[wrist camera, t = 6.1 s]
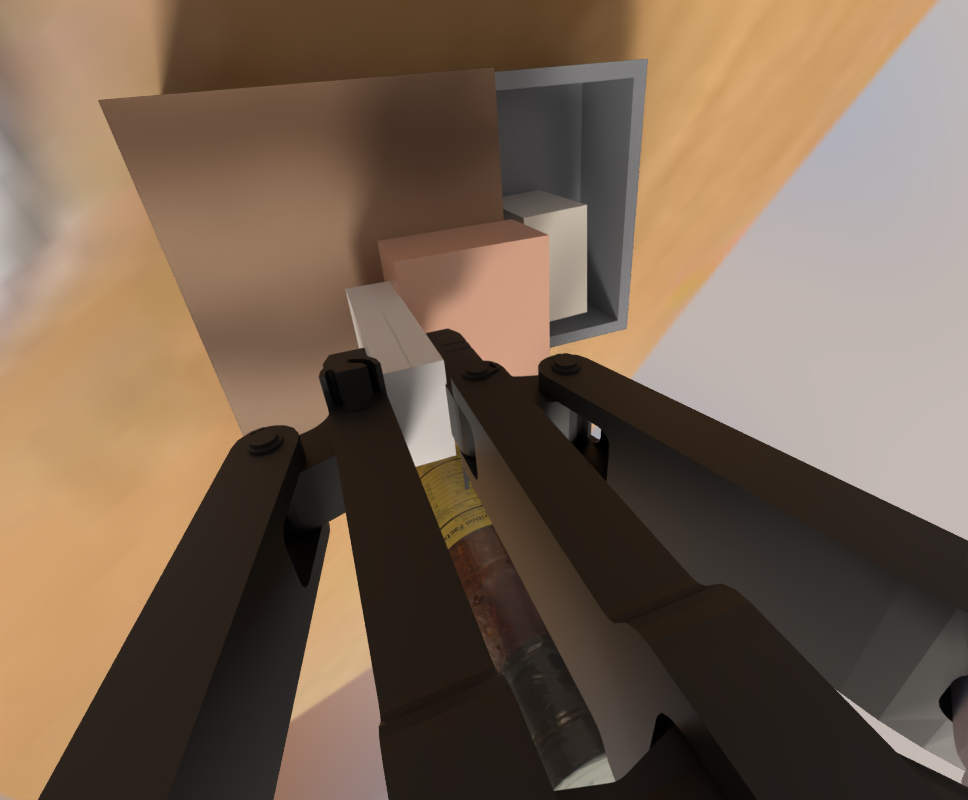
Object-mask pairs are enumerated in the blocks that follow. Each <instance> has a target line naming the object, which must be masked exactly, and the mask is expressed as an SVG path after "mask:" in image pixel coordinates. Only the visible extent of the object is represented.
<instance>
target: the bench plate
mask: <svg viewBox="0 0 968 800" xmlns="http://www.w3.org/2000/svg"><path fill="white" fill-rule="evenodd" d="M98 101H99V104H100V106H101V108H102V110H103V113H104V115H105V117H106V120H107V122H108V124H109V127H110V129H111V131H112V134H113V136H114V138H115V141H116V143H117V145H118V148H119V150H120V152H121V154H122V157H123V159H124V161H125V164H126V166H127V168H128V171H129V173H130V175H131V178H132V180H133V182H134V185H135V187H136V189H137V191H138V194H139V196H140V198H141V201H142V203H143V205H144V208H145V210H146V212H147V215H148V217H149V219H150V222H151V224H152V226H153V229H154V231H155V233H156V235H157V238H158V240H159V242H160V245H161V247H162V249H163V252H164V254H165V256H166V259H167V261H168V263H169V266H170V268H171V270H172V272H173V275H174V277H175V279H176V282H177V284H178V286H179V289H180V291H181V293H182V296H183V298H184V300H185V303H186V305H187V307H188V309H189V312H190V314H191V316H192V319H193V321H194V323H195V326H196V328H197V330H198V333H199V335H200V337H201V340H202V342H203V344H204V347H205V349H206V351H207V353H208V356H209V358H210V360H211V363H212V365H213V367H214V370H215V372H216V374H217V377H218V379H219V381H220V384H221V386H222V388H223V390H224V393H225V395H226V397H227V400H228V402H229V404H230V407H231V409H232V411H233V414H234V416H235V418H236V421H237V423H238V425H239V428H240V430H241V432H242V434H243V437H244V436H245V435H247V434H248V433H250V432H252V431H254V430H257V429H259V428H262V427H268V426H273V425H286V426H289V427H293V428H294V429H295V430H296V431H297V432H298V433H299V435H300V434H303V433H305V432H307V431H309V430H311V429H313V428H315V427H316V426H318V425H319V424H321V423H322V422H323V421H324V420H325V419H326V418H327V416H328V415H329V412H328V407H327V404H326V401H325V397H324V394H323V390H322V387H321V383H320V380H319V374H320V371H321V370H322V369H323V363H324V362H325V360H326V359H327V357H328V356H329V355H331V354H336V353H341V352H345V351H350V350H355V349H359V346H358V342H357V337H356V333H355V329H354V325H353V320H352V316H351V312H350V307H349V303H348V299H347V294H346V290H345V289H348V288H353V287H359V286H364V285H370V284H375V283H381V282H385V281H384V275H383V270H382V265H381V260H380V254H379V249H378V244H377V241H379V240H385V239H391V238H398V237H404V236H410V235H416V234H423V233H429V232H435V231H441V230H447V229H454V228H460V227H466V226H472V225H479V224H485V223H491V222H497V221H504V216H503V200H502V183H501V166H500V150H499V133H498V116H497V100H496V83H495V67H490V68H478V69H466V70H454V71H442V72H430V73H418V74H406V75H394V76H382V77H370V78H358V79H345V80H333V81H321V82H309V83H297V84H285V85H273V86H261V87H249V88H237V89H225V90H213V91H201V92H189V93H177V94H165V95H153V96H141V97H129V98H117V99H105V100H98ZM454 441H455V439H454ZM455 446H458V445H457V443H456V441H455Z"/></svg>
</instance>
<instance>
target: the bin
mask: <svg viewBox="0 0 968 800" xmlns="http://www.w3.org/2000/svg"><path fill="white" fill-rule="evenodd" d="M647 63H648V59H639V60H627V61H616V62H604V63H592V64H581V65H569V66H557V67H546V68H534V69H522V70H511V71H499V72H495V83H496V100H497V116H498V133H499V150H500V166H501V183H502V197H504V196H509V195H514V194H520V193H525V192H530V191H535V190H541V191H544V192H547V193H550V194H554V195H557V196H560V197H563V198H567V199H570V200H573V201H576V202H579V203H583V204H586V205H587V312H585V313H581V314H577V315H573V316H569V317H566V318H562V319H558V320H554V321H550V322H549V323H550V348H551V347H555V346H559V345H563V344H567V343H571V342H575V341H579V340H583V339H587V338H591V337H595V336H599V335H603V334H607V333H611V332H616V331H620V330H624V329H627V319H628V306H629V293H630V281H631V268H632V255H633V242H634V229H635V217H636V204H637V191H638V178H639V165H640V153H641V140H642V127H643V114H644V101H645V89H646V76H647Z"/></svg>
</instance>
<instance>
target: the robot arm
mask: <svg viewBox="0 0 968 800" xmlns="http://www.w3.org/2000/svg"><path fill="white" fill-rule="evenodd" d="M345 290H346V294H347V299H348V303H349V307H350V312H351V316H352V320H353V325H354V329H355V333H356V337H357V342H358V346H359V349H355V350H350V351H345V352H341V353H336V354H331V355H329V356H328V357H327V359H326V360H325V362H324V363H323V369H322V370H321V371H320V374H319V380H320V383H321V387H322V390H323V394H324V397H325V401H326V404H327V407H328V412H329V415H328V416H327V418H326V419H325V420H324V421H323V422H322V423H321V424H319V425H318V426H316V427H315V428H313V429H311V430H309V431H307V432H305V433H303V434H300V435H299V433H298V432H297V431H296V430H295V429H294V428H293V427H289V426H286V425H273V426H268V427H262V428H259V429H257V430H254V431H252V432H250V433H248V434H247V435H245V436H244V437H242V438H241V439H239V440H238V441H237V442H236V443H235V444H234V446H233V447H232V448H231V450H230V452H229V453H228V455H227V457H226V459H225V461H224V462H223V464H222V466H221V468H220V470H219V472H218V473H217V475H216V477H215V479H214V481H213V482H212V484H211V486H210V488H209V490H208V492H207V493H206V495H205V497H204V499H203V501H202V502H201V504H200V506H199V508H198V510H197V512H196V513H195V515H194V517H193V519H192V521H191V522H190V524H189V526H188V528H187V530H186V532H185V533H184V535H183V537H182V539H181V541H180V542H179V544H178V546H177V548H176V550H175V552H174V553H173V555H172V557H171V559H170V561H169V562H168V564H167V566H166V568H165V570H164V572H163V573H162V575H161V577H160V579H159V581H158V582H157V584H156V586H155V588H154V590H153V592H152V593H151V595H150V597H149V599H148V601H147V602H146V604H145V606H144V608H143V610H142V612H141V613H140V615H139V617H138V619H137V621H136V622H135V624H134V626H133V628H132V630H131V632H130V633H129V635H128V637H127V639H126V641H125V642H124V644H123V646H122V648H121V650H120V652H119V653H118V655H117V657H116V659H115V661H114V662H113V664H112V666H111V668H110V670H109V672H108V673H107V675H106V677H105V679H104V681H103V682H102V684H101V686H100V688H99V690H98V692H97V693H96V695H95V697H94V699H93V701H92V702H91V704H90V706H89V708H88V710H87V711H86V713H85V715H84V717H83V719H82V721H81V722H80V724H79V726H78V728H77V730H76V731H75V733H74V735H73V737H72V739H71V741H70V742H69V744H68V746H67V748H66V750H65V751H64V753H63V755H62V757H61V759H60V761H59V762H58V764H57V766H56V768H55V770H54V771H53V773H52V775H51V777H50V779H49V781H48V782H47V784H46V786H45V788H44V790H43V791H42V793H41V795H40V797H39V799H38V800H273V799H274V794H275V790H276V785H277V780H278V775H279V771H280V766H281V761H282V756H283V752H284V747H285V742H286V737H287V733H288V728H289V723H290V718H291V714H292V709H293V704H294V699H295V695H296V690H297V685H298V680H299V676H300V671H301V666H302V661H303V657H304V652H305V647H306V642H307V638H308V633H309V628H310V623H311V619H312V614H313V609H314V604H315V600H316V595H317V590H318V585H319V581H320V576H321V571H322V567H323V562H324V557H325V552H326V548H327V543H328V538H329V533H330V526H329V521H331V520H333V519H335V518H336V517H338V516H340V515H342V514H344V513H345V512H346V516H347V522H348V528H349V534H350V540H351V546H352V551H353V557H354V563H355V569H356V575H357V580H358V586H359V592H360V598H361V604H362V609H363V615H364V621H365V627H366V633H367V639H368V644H369V650H370V656H371V662H372V668H373V673H374V679H375V685H376V691H377V696H378V702H379V709H380V717H381V722H380V725H379V739H380V747H381V754H382V761H383V768H384V774H385V780H386V786H387V792H388V798H389V800H968V541H967V540H965V539H963V538H961V537H959V536H957V535H955V534H953V533H951V532H949V531H946V530H945V529H942V528H940V527H938V526H936V525H934V524H932V523H930V522H928V521H926V520H924V519H921V518H919V517H917V516H915V515H913V514H911V513H909V512H907V511H905V510H903V509H900V508H899V507H896V506H894V505H892V504H890V503H888V502H886V501H884V500H881V499H879V498H878V497H876V496H874V495H871V494H869V493H867V492H865V491H863V490H861V489H859V488H857V487H855V486H852V485H850V484H848V483H846V482H844V481H842V480H840V479H838V478H836V477H834V476H832V475H830V474H827V473H825V472H823V471H821V470H819V469H817V468H815V467H813V466H811V465H809V464H807V463H805V462H803V461H800V460H798V459H796V458H794V457H792V456H790V455H788V454H786V453H784V452H782V451H780V450H777V449H775V448H773V447H771V446H769V445H767V444H765V443H763V442H761V441H759V440H757V439H754V438H752V437H750V436H748V435H746V434H744V433H742V432H740V431H738V430H736V429H734V428H731V427H729V426H727V425H725V424H723V423H720V422H719V421H717V420H715V419H713V418H711V417H709V416H706V415H704V414H702V413H700V412H698V411H696V410H694V409H692V408H690V407H688V406H686V405H683V404H681V403H679V402H677V401H675V400H673V399H671V398H669V397H667V396H664V395H663V394H660V393H658V392H656V391H654V390H652V389H650V388H648V387H646V386H644V385H642V384H640V383H638V382H635V381H633V380H631V379H629V378H627V377H625V376H623V375H621V374H619V373H617V372H615V371H612V370H610V369H608V368H606V367H604V366H602V365H600V364H598V363H596V362H594V361H592V360H590V359H587V358H585V357H582V356H579V355H572V354H568V353H563V354H556V355H554V356H550V357H547V358H545V359H544V360H542V361H541V362H540V363H539V365H538V375H532V376H511V375H510V374H509V373H508V371H507V370H506V369H505V368H504V367H503V366H501V365H500V364H498V363H496V362H492V361H483V360H482V359H481V357H480V356H479V355H478V354H477V353H476V352H475V350H474V349H473V348H472V347H471V346H470V344H469V343H468V342H466V340H465V338H464V337H463V336H462V335H461V334H460V333H458V332H456V331H454V330H451V329H449V328H447V329H442V330H438V331H433V332H428V333H425V332H424V330H423V329H422V328H421V326H420V325H419V323H418V322H417V320H416V319H415V317H414V316H413V314H412V313H411V311H410V310H409V308H408V307H407V305H406V304H405V303H404V301H403V300H402V298H401V297H400V296H399V295H398V293H397V292H396V291H395V289H394V288H393V286H392V285H391V283H390V282H389V281H386V282H381V283H375V284H370V285H364V286H359V287H353V288H348V289H345ZM591 423H593V424H595V425H596V426H598V427H599V428H600V429H601V438H600V440H599V439H597V438H595V437H594V436H592V435H591ZM454 439H455V441H456V443H457V445H458V446H459V448H460V454H461V462H462V470H463V478H464V485H465V490H467V489H470V488H469V481H470V482H471V484H472V486H473V488H474V490H475V492H476V494H477V495H478V497H479V499H480V501H481V503H482V505H483V507H484V509H485V511H486V513H487V515H488V517H489V519H490V520H491V522H492V524H493V526H494V528H495V530H496V532H497V534H498V536H499V538H500V540H501V542H502V543H503V545H504V547H505V549H506V551H507V553H508V555H509V557H510V559H511V561H512V563H513V565H514V566H515V568H516V570H517V572H518V574H519V576H520V578H521V580H522V582H523V584H524V586H525V588H526V590H527V591H528V593H529V595H530V597H531V599H532V601H533V603H534V605H535V607H536V609H537V611H538V613H539V614H540V616H541V618H542V620H543V622H544V624H545V626H546V628H547V630H548V632H549V634H550V636H551V637H552V639H553V641H554V643H555V645H556V647H557V649H558V651H559V653H560V655H561V657H562V659H563V660H564V662H565V664H566V666H567V668H568V670H569V672H570V674H571V676H572V678H573V680H574V682H575V684H576V685H577V687H578V689H579V691H580V693H581V695H582V697H583V699H584V701H585V703H586V705H587V707H588V708H589V710H590V712H591V714H592V716H593V718H594V720H595V722H596V724H597V727H598V729H599V732H600V734H601V737H602V741H603V744H604V748H605V752H606V756H607V760H608V763H609V765H610V768H611V771H612V774H613V776H614V779H615V782H611V783H605V784H598V785H591V786H584V787H577V788H570V789H563V790H556V791H554V790H553V787H552V785H551V783H550V780H549V778H548V775H547V773H546V770H545V768H544V765H543V763H542V761H541V758H540V756H539V753H538V751H537V748H536V746H535V744H534V741H533V739H532V736H531V734H530V731H529V729H528V726H527V724H526V722H525V719H524V717H523V714H522V712H521V709H520V707H519V705H518V702H517V700H516V698H515V695H514V693H513V691H512V689H511V687H510V684H509V683H508V681H507V679H506V678H505V676H504V675H503V674H501V673H499V672H498V671H497V669H496V668H495V666H494V663H493V661H492V659H491V656H490V654H489V651H488V649H487V646H486V644H485V641H484V639H483V636H482V634H481V631H480V629H479V626H478V623H477V621H476V618H475V616H474V613H473V611H472V608H471V606H470V603H469V601H468V598H467V596H466V593H465V591H464V588H463V585H462V583H461V580H460V578H459V575H458V573H457V570H456V568H455V565H454V563H453V560H452V558H451V555H450V553H449V550H448V548H447V545H446V542H445V540H444V537H443V535H442V532H441V530H440V527H439V525H438V522H437V520H436V517H435V515H434V512H433V510H432V507H431V504H430V502H429V499H428V497H427V494H426V492H425V489H424V487H423V484H422V482H421V479H420V477H419V474H418V472H417V469H416V467H417V466H420V465H424V464H427V463H431V462H434V461H438V460H441V459H445V458H448V457H452V456H455V455H456V449H455V441H454ZM834 688H835V689H836V690H837V691H839V692H840V693H841V694H843V695H844V696H846V697H847V698H848V699H850V700H851V701H853V702H854V703H855V704H857V705H858V706H860V707H861V708H862V709H864V710H865V711H866V712H868V713H869V714H871V715H872V716H873V717H875V718H876V719H877V720H879V721H881V722H882V723H884V724H885V725H887V726H888V727H890V728H892V729H893V730H895V731H896V732H898V733H900V734H901V735H903V736H904V737H906V738H908V739H909V740H911V741H912V742H914V743H916V744H917V745H919V746H920V747H922V748H924V749H925V750H927V751H929V752H931V753H933V754H935V755H937V756H938V757H940V758H942V759H944V760H946V761H948V762H949V763H951V764H953V765H955V766H957V767H959V768H960V769H962V770H964V771H966V772H965V773H964V776H963V778H962V781H961V782H962V784H960V783H958V782H956V781H954V780H952V779H950V778H948V777H946V776H944V775H942V774H940V773H938V772H936V771H934V770H931V769H929V768H927V767H925V766H923V765H921V764H919V763H917V762H915V761H913V760H911V759H909V758H907V757H905V756H903V755H901V754H899V753H897V752H895V751H894V749H893V748H892V747H891V746H890V745H889V744H888V743H887V742H886V741H885V740H884V739H883V738H882V737H881V736H880V735H879V734H878V733H877V732H876V731H875V730H874V729H873V728H872V727H871V726H870V725H869V724H868V723H867V722H866V721H865V720H864V719H863V718H862V716H860V714H859V713H858V712H857V711H856V710H855V709H854V708H853V707H852V706H851V705H850V704H849V703H848V702H847V701H846V700H845V699H844V698H843V697H842V696H841V695H840V694H839V693H838V692H837V691H836V690H835V689H834Z"/></svg>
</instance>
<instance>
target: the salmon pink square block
mask: <svg viewBox="0 0 968 800" xmlns="http://www.w3.org/2000/svg"><path fill="white" fill-rule="evenodd" d="M377 244H378V249H379V254H380V260H381V265H382V270H383V275H384V281H385V282H386V281H389V282H390V283H391V285H392V286H393V288H394V289H395V291H396V292H397V293H398V295H399V296H400V297H401V298H402V300H403V301H404V303H405V304H406V305H407V307H408V308H409V310H410V311H411V313H412V314H413V316H414V317H415V319H416V320H417V322H418V323H419V325H420V326H421V328H422V329H423V330H424V332H425V333H428V332H433V331H438V330H442V329H447V328H449V329H451V330H454V331H456V332H458V333H460V334H461V335H462V336H463V337H464V338H465V340H466V342H468V343H469V344H470V346H471V347H472V348H473V349H474V350H475V352H476V353H477V354H478V355H479V356H480V357H481V359H482V360H483V361H492V362H496V363H498V364H500V365H501V366H503V367H504V368H505V369H506V370H507V371H508V373H509V374H510V375H511V376H532V375H538V365H539V363H540V362H541V361H542V360H544V359H545V358H547V357H550V323H549V235H548V234H545V233H543V232H541V231H538V230H536V229H534V228H531V227H529V226H527V225H524V224H522V223H520V222H517V221H515V220H513V219H510V220H504V221H497V222H491V223H485V224H479V225H472V226H466V227H460V228H454V229H447V230H441V231H435V232H429V233H423V234H416V235H410V236H404V237H398V238H391V239H385V240H379V241H377Z"/></svg>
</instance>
